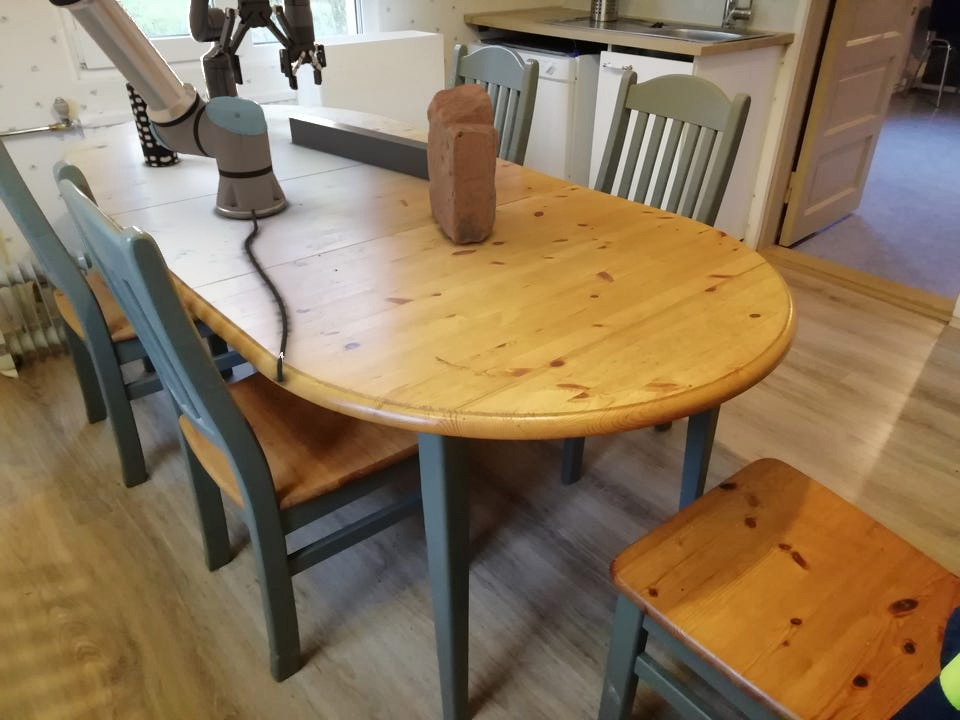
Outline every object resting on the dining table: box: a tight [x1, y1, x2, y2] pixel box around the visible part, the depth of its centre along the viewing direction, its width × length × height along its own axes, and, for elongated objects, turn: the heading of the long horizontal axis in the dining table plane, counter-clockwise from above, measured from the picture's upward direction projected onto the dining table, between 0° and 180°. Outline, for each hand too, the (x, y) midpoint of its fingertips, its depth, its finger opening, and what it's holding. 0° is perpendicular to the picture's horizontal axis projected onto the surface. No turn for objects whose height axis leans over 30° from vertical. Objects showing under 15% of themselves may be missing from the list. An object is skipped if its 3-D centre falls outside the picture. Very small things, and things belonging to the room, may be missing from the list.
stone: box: [426, 83, 500, 245], centre depth 142 cm, size 22×11×28 cm, turn 18°
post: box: [288, 113, 430, 181], centre depth 186 cm, size 68×5×8 cm, turn 53°
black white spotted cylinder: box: [125, 82, 179, 167], centre depth 181 cm, size 8×8×20 cm
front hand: (264, 80), depth 171 cm, fingers open, 13 cm apart
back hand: (306, 87), depth 193 cm, fingers open, 8 cm apart
